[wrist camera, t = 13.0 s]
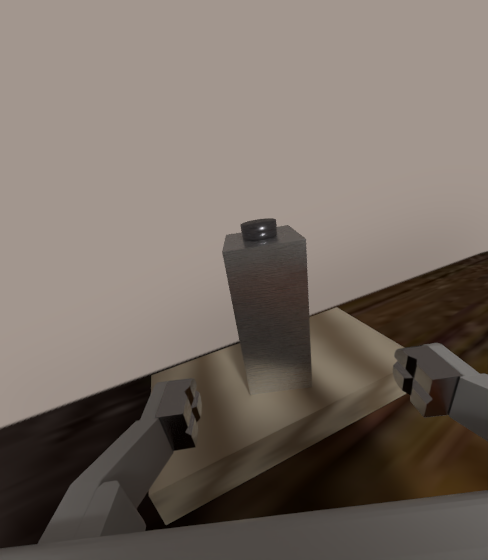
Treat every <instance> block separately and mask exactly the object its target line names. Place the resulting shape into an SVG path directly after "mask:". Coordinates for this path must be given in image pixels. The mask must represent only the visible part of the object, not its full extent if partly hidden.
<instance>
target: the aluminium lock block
mask: <svg viewBox="0 0 488 560" xmlns="http://www.w3.org/2000/svg"><path fill="white" fill-rule="evenodd" d="M241 231H242V233H236V234H229V235H226V238H225V242H224V247H223V251H222V253H223V258H224V263H225V268H226V274H227V278H228V284H229V288H230V294H231V299H232V304H233V309H234V314H235V319H236V325H237V329H238V334H239V340H240V345H241V350H242V355H243V361H244V366H245V371H246V376H247V381H248V386H249V391H250V395H255V394H263V393H270V392H278V391H285V390H293V389H300V388H308V387H312V366H311V344H310V321H309V301H308V300H309V299H308V276H307V254H306V239H305V238H304V237H302V236H301V235H300V234H299V233H297V232H296V231H295V230H293V229H292V228H291V227H290V226H288V225H287V226H281V227H276V219H259V220H253V221H248V222H245V223H243V224H241Z"/></svg>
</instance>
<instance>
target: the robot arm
mask: <svg viewBox="0 0 488 560" xmlns="http://www.w3.org/2000/svg"><path fill="white" fill-rule="evenodd" d="M394 357H395V358H396V359H397V362H396V363H395V364H394V365H393V376H394V379H395V381H396V383H397V385H398V386H399V387H400V389H401V390H402V391H404V392H406V393H407V394H409V395H410V401H411V402H412V404H413V405H414V406H415V407H416V408H417V410H418V411H419V412H420V413H421V415H422V416H423V417H433V416H443V415H449V417H451V418H452V419H454V420H455V421H457V422H459V423H460V424H462V425H463V426H465V427H466V428H468V429H469V430H471V431H473V432H474V433H476V434H477V435H479V436H480V437H482V438H484V439H485V440H487V441H488V375H487V374H479V373H478V372H477V371H475V370H474V369H473V368H472V367H470V366H469V365H468V364H466V363H465V362H464V361H462V360H461V359H460V358H459V357H457V356H456V355H455V354H453V353H452V352H451V351H449V350H448V349H447V348H445V347H444V346H443V345H441V344H439V343H433V344H426V345H420V346H413V347H407V348H400V349H397V350H396V351H395V355H394ZM196 386H197V384H196V381H195V379H194V378H189V379H180V380H172V381H165V382H157V383H156V384H155V386H154V388H153V390H152V393H151V395H150V397H149V400H148V402H147V405H146V407H145V409H144V412H143V414H142V417H141V419H140V420H139V421H136V422H135V423H134V424H133V425H131V426H130V427H129V428H128V429H127V430H126V431H125V432H124V433H123V434H122V435H121V436H120V437H119V438H118V439H117V440H116V441H115V442H114V443H113V444H112V445H111V446H110V447H109V448H108V449H107V450H106V451H105V452H104V453H103V454H102V455H101V456H100V457H99V458H98V459H97V460H96V461H95V462H94V463H93V464H91V465H90V466H89V467H88V468H87V469H86V470H85V471H84V472H83V473H82V474H81V475H80V476H79V477H78V478H77V479H76V480H75V481H74V482H73V483H72V484H71V485H70V487H69V489H68V490H67V492H66V494H65V496H64V498H63V499H62V501H61V503H60V505H59V507H58V508H57V510H56V512H55V514H54V516H53V517H52V519H51V521H50V523H49V524H48V526H47V528H46V530H45V532H44V533H43V535H42V537H41V539H40V541H39V542H38V544H34V545H26V546H18V547H9V548H1V549H0V560H488V490H486V491H477V492H469V493H461V494H452V495H444V496H435V497H427V498H419V499H410V500H402V501H393V502H385V503H377V504H368V505H360V506H352V507H343V508H335V509H326V510H318V511H310V512H301V513H293V514H285V515H276V516H268V517H259V518H251V519H243V520H234V521H226V522H218V523H209V524H201V525H193V526H184V527H176V528H168V529H159V530H151V531H145V529H146V524H145V522H144V520H143V519H142V517H141V516H140V514H139V513H138V511H137V510H136V509H137V507H138V506H139V504H140V503H141V501H142V500H143V498H144V497H145V495H146V494H147V492H148V491H149V489H150V488H151V486H152V484H153V483H154V481H155V480H156V478H157V477H158V475H159V474H160V472H161V471H162V469H163V468H164V466H165V465H166V463H167V462H168V460H169V459H170V457H171V456H172V454H173V451H176V450H183V449H189V448H195V447H196V443H197V437H198V431H199V428H198V425H197V422H198V421H199V419H200V418H201V411H202V402H201V396H200V393H199V392H198V391H196Z"/></svg>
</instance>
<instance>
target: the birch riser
mask: <svg viewBox="0 0 488 560" xmlns="http://www.w3.org/2000/svg"><path fill="white" fill-rule="evenodd" d="M309 321H310V344H311V366H312V387H308V388H300V389H293V390H285V391H278V392H270V393H263V394H255V395H250V391H249V386H248V381H247V376H246V371H245V366H244V361H243V355H242V350H241V345H240V343H238V344H236V345H233V346H230V347H227V348H225V349H222V350H219V351H217V352H214V353H211V354H208V355H206V356H203V357H200V358H197V359H195V360H192V361H189V362H187V363H184V364H181V365H178V366H176V367H173V368H170V369H168V370H165V371H162V372H159V373H157V374H154V375H151V393H152V390H153V388H154V386H155V384H156V383H157V382H165V381H172V380H180V379H189V378H194V379H195V381H196V384H197V386H196V391H198V392H199V393H200V396H201V402H202V411H201V418H200V419H199V421H198V422H197V425H198V428H199V431H198V437H197V443H196V447H195V448H189V449H183V450H176V451H173V454H172V456H171V457H170V459H169V460H168V462H167V463H166V465H165V466H164V468H163V469H162V471H161V472H160V474H159V475H158V477H157V478H156V480H155V481H154V483H153V484H152V486H151V488H150V489H149V497H150V499H151V500H152V502H153V504H154V506H155V507H156V509H157V511H158V513H159V514H160V516H161V518H162V519H163V521H164V523H165V525H168V524H169V523H171V522H173V521H175V520H177V519H178V518H180V517H182V516H184V515H186V514H188V513H189V512H191V511H193V510H195V509H197V508H198V507H200V506H202V505H204V504H206V503H208V502H209V501H211V500H213V499H215V498H217V497H219V496H220V495H222V494H224V493H226V492H228V491H229V490H231V489H233V488H235V487H237V486H239V485H240V484H242V483H244V482H246V481H248V480H249V479H251V478H253V477H255V476H257V475H259V474H260V473H262V472H264V471H266V470H268V469H270V468H271V467H273V466H275V465H277V464H279V463H280V462H282V461H284V460H286V459H288V458H290V457H291V456H293V455H295V454H297V453H299V452H300V451H302V450H304V449H306V448H308V447H310V446H311V445H313V444H315V443H317V442H319V441H321V440H322V439H324V438H326V437H328V436H330V435H331V434H333V433H335V432H337V431H339V430H341V429H342V428H344V427H346V426H348V425H350V424H351V423H353V422H355V421H357V420H359V419H361V418H362V417H364V416H366V415H368V414H370V413H372V412H373V411H375V410H377V409H379V408H381V407H382V406H384V405H386V404H388V403H390V402H392V401H393V400H395V399H397V398H399V397H401V396H403V395H404V394H406V392H404V391H402V390H401V389H400V387H399V386H398V385H397V383H396V381H395V379H394V376H393V365H394V364H395V363H396V362H397V359H396V358H395V357H394V355H395V351H396V350H397V349H400V348H404V347H402V346H400V345H399V344H397V343H395V342H394V341H392V340H390V339H389V338H387V337H385V336H384V335H382V334H380V333H379V332H377V331H375V330H374V329H372V328H370V327H369V326H367V325H365V324H364V323H362V322H360V321H359V320H357V319H355V318H354V317H352V316H350V315H349V314H347V313H345V312H344V311H342V310H340V309H339V308H337V307H336V308H334V309H331V310H328V311H326V312H323V313H320V314H317V315H315V316H312V317H309Z"/></svg>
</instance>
